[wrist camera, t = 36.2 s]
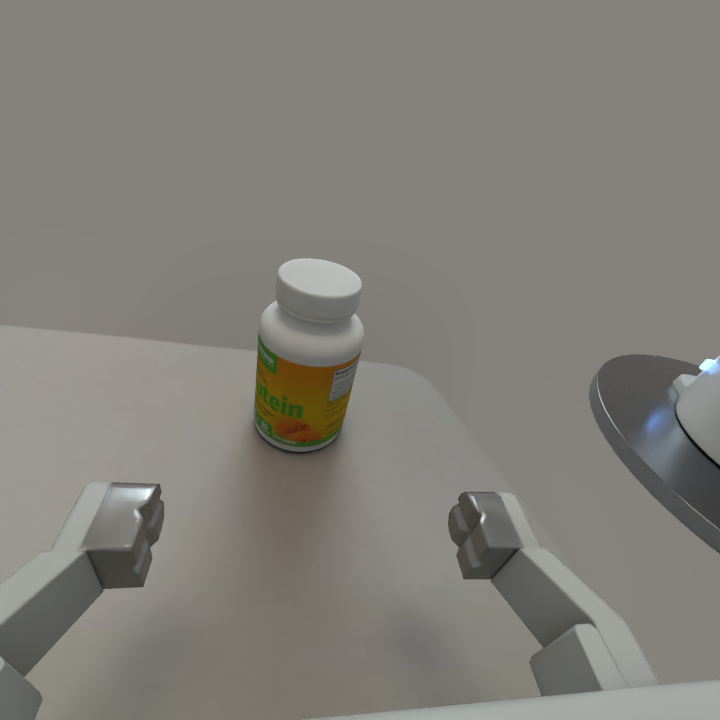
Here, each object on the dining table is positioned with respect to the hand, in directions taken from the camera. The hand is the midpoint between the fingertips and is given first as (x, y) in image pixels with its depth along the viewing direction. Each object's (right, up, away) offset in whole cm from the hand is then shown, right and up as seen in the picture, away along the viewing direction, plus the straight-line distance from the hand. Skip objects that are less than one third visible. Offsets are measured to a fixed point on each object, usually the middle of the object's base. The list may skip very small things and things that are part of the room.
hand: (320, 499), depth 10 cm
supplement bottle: (-3, 0, +13) cm, 13 cm away
